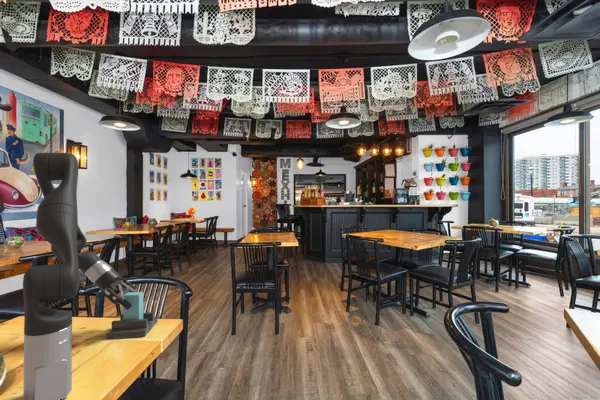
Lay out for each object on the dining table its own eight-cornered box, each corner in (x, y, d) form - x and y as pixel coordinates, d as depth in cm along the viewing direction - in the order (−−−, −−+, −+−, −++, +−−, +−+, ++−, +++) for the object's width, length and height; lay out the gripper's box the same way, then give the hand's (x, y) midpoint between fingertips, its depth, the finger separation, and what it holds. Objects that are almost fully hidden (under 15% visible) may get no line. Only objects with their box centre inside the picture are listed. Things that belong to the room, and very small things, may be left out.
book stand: (145, 336, 105) (145, 322, 105) (106, 338, 103) (106, 325, 103) (157, 321, 118) (157, 309, 118) (123, 323, 116) (123, 311, 116)
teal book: (138, 326, 109) (139, 294, 109) (122, 327, 108) (122, 295, 108) (143, 322, 112) (143, 291, 113) (127, 323, 112) (127, 292, 112)
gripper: (100, 272, 102) (134, 302, 104) (119, 264, 116) (149, 290, 118) (84, 287, 101) (118, 318, 103) (105, 277, 116) (135, 304, 117)
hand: (135, 303), depth 110 cm, fingers open, 8 cm apart
